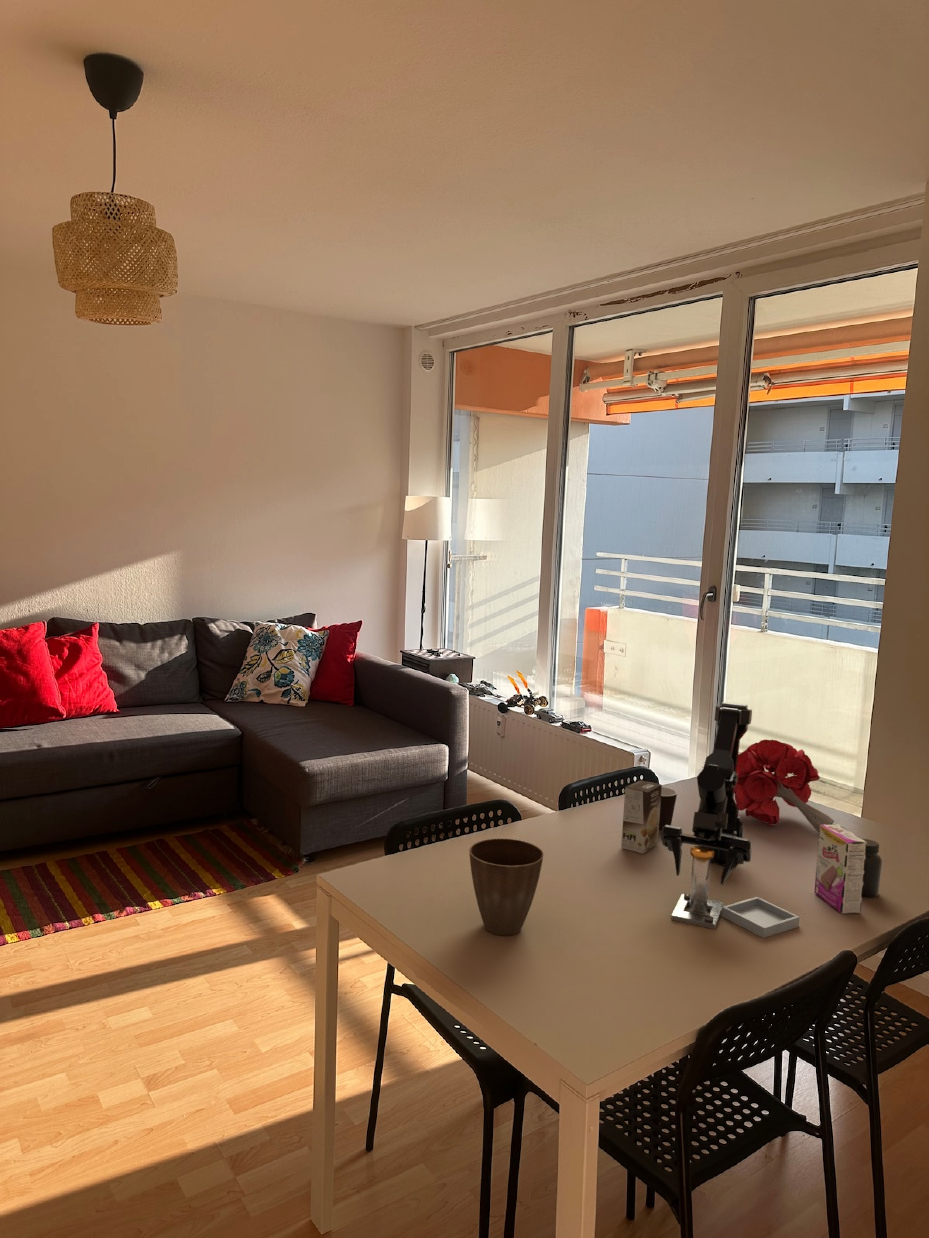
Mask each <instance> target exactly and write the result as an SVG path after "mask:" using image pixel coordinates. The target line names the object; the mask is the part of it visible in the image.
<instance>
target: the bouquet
mask: <svg viewBox="0 0 929 1238" xmlns="http://www.w3.org/2000/svg"><path fill="white" fill-rule="evenodd" d="M765 769H766V770H765ZM736 773H737V776H738V782H737V784H736V786H735V790H734V801H735V803H736V805H737V807H738V809H739V811H742V812H743V811H744V810H745V813H744V814H745V817H751V818H753V819H755V820H758V821H760V822H762V823H764V824H765V823H766V824H767V825H769V826H776V825H777V824H779V822H780V807H779V805H778V802H777V799H776V798H781V799H782V800H783V801H784V803H785V804H787V806H789V807H793V808H797V809H798V810H799V811H800V812H801V814H802V815H803V816H804V817H805V818H806V820H807V821H808V823H809V824H810V825H811V827H813V828H814V830H815V831H817V832H818V833H819V829H820V825H823V824H826V825H827V824H834V823H835V820H834V819H833V818H832V817H830V816H829V815H828V814H826V813H824V812H823V811H821V810H819V809H817V808H814V807H813V806H812V805H809V804H807V803H808V802H809V799H810V798H811V795H812V789H811V787H810V782H815V781H819V780H820V779H821V776H820V775H819V771H818V769H817V768H816V767H814V766H813V762H812V760H811V758H810V757H809V756H808V755H807V754H806V753H805V750H803V749H799V750H797V749H796V748H795V747H794V746H793V745H792V744H789V743H785V742H781V741H779V740H776V739H762V740H760V741H758V742H754V743H753V744H750V745H749V746H747V748H746V749H745V750H743V751H742V752H739V753H738V762H737V771H736ZM788 774H789V775H788ZM790 775H791V776H790ZM775 797H776V798H775ZM774 798H775V799H774Z"/></svg>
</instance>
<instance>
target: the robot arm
mask: <svg viewBox="0 0 929 1238" xmlns="http://www.w3.org/2000/svg"><path fill="white" fill-rule="evenodd" d="M752 718H753V709H749V708H748V704H744V703H743V704H742V703H735V702H728V701H727V702H725V701H722V703H721V705H716V706H715V710H714V718H713V719H714V721H715V722H717V731H716V736H715V740H714V741H715V742H714V744H713V745H714V746H713V749H712V752H711V753H710V754H708V756H706V758H705V761H704V765H703V766H701V767H700V769H699V771H698V773H697V776H696V781H697V789H698V796H699V798H700V799H699V805H698V809H697V811H694V815H693V822H692V829H691V831H692V833H693V835H692V834H688V833H683V830H682V827H681V826H677V825H676V826H675V825H671V826H670V825H665V826H664V827H663V828H662V831H661V832H660V837H661V842H662V846H663V847H665V848H667V850H668V851H669V852H672V854H673V857H674V865H675V875H676V877H679V875H680V873H681V863H682V855H683V851H682V847H683V844H687V845H693V846H703V847H708V848H710V849H712V850H713V851H714V857H713V858H711V859H710V862H712V863H714V864H716V865H719V866H721V867H722V866H724V867H723V870H722V873H721V878H720V884H721V885H724V884H725V883H726V881H727V879H728V877H729V876H730V875H731V874H732V872H733V871H734V869H736V867H737V866H738V865H744V862H745V863H746V862H747V863H749V862H751V860H752V841H751V840H750V839H749V838H743V835H744V823H743V822H742V819H741V818H742V817H741V816H739V811H740V810H739V809H738V807H737V805H736V804H737V803H736V801H735V793H734V790H735V786H736V784H737V782H738V776H737V773H736V771H737V762H738V755H739V754H740V751H739V750H740V742H741V739H742V738H743V737H744V735H745V734H746V733H747V731H748V728H749V725H751V724H752Z"/></svg>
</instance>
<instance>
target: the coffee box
mask: <svg viewBox="0 0 929 1238" xmlns="http://www.w3.org/2000/svg"><path fill="white" fill-rule="evenodd" d="M662 787H663V785H662V784H660V783H656V782H651V781H646V780H645V781H644V780H641V779H639V780H637V781H636V782H634V783H631V784H629V785H627V786H624V802H623V817H622V830H621V844H620V845H621V849H624V850H628V851H631V852H636V853H638V854H645V853H647V852H648V851H649V850H651V849H652V848H654V847H655V846H657V845H658V843H659V832H660V830H659V818H660V804H661V790H662Z"/></svg>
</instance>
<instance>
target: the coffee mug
mask: <svg viewBox="0 0 929 1238" xmlns="http://www.w3.org/2000/svg"><path fill="white" fill-rule="evenodd" d="M677 795H678V791H677V790H675V789H674V788H670V787H667V786H666V787H665V786H662V790H661V804H660V818H659V832H660V831H661V832H662V828H663V827H664V826H665V825H670V826H672V824H673V823H672V822H673V819H674V818H673V817H674V812H675V806H676V801H677Z"/></svg>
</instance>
